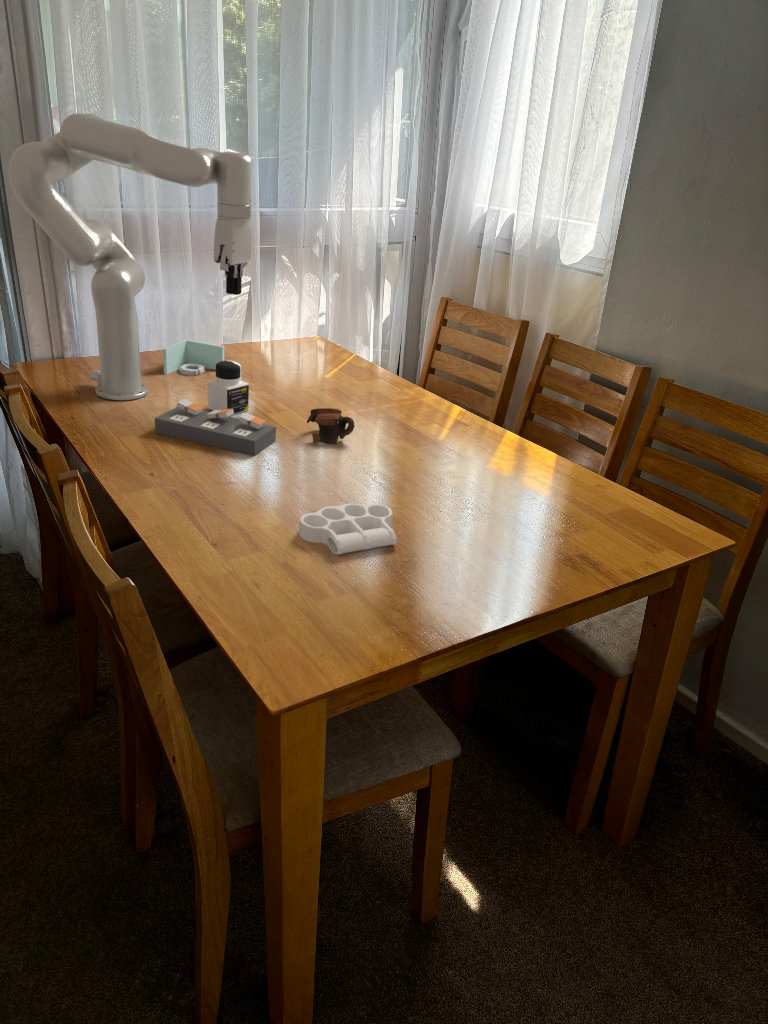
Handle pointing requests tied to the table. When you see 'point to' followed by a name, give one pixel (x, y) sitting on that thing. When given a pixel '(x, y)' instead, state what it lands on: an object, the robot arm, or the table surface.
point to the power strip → (215, 431)
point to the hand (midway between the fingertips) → (233, 293)
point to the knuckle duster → (349, 527)
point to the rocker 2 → (220, 413)
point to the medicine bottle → (228, 388)
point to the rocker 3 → (252, 420)
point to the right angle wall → (192, 357)
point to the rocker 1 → (189, 406)
